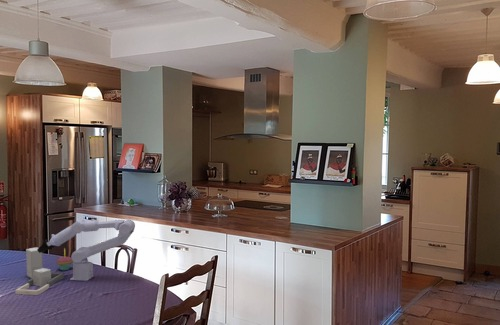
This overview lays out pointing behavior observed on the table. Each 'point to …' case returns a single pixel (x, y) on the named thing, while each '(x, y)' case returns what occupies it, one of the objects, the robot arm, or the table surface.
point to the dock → (55, 279)
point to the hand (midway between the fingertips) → (42, 249)
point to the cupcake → (64, 262)
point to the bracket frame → (23, 290)
